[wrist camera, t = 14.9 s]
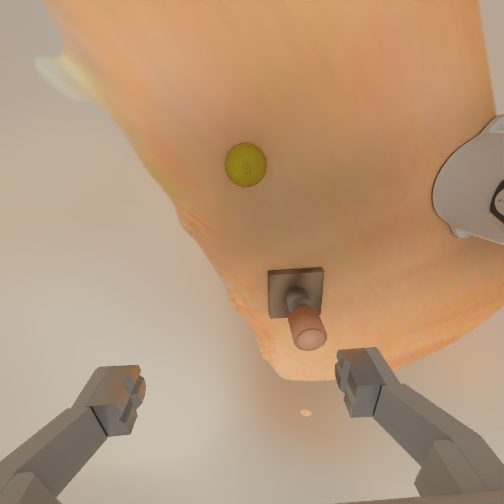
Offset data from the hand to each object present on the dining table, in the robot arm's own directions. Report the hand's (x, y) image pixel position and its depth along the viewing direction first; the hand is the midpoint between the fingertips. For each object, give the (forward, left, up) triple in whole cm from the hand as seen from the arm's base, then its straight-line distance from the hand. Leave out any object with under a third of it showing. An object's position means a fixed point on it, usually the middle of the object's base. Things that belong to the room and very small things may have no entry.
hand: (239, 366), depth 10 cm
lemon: (-1, -5, -31) cm, 32 cm away
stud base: (-9, +19, -31) cm, 37 cm away
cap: (-9, +19, -24) cm, 32 cm away
